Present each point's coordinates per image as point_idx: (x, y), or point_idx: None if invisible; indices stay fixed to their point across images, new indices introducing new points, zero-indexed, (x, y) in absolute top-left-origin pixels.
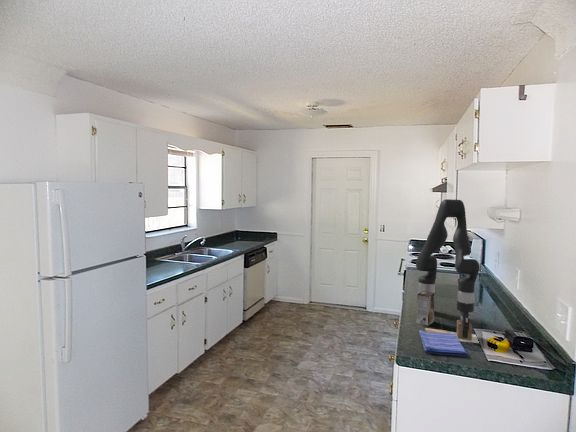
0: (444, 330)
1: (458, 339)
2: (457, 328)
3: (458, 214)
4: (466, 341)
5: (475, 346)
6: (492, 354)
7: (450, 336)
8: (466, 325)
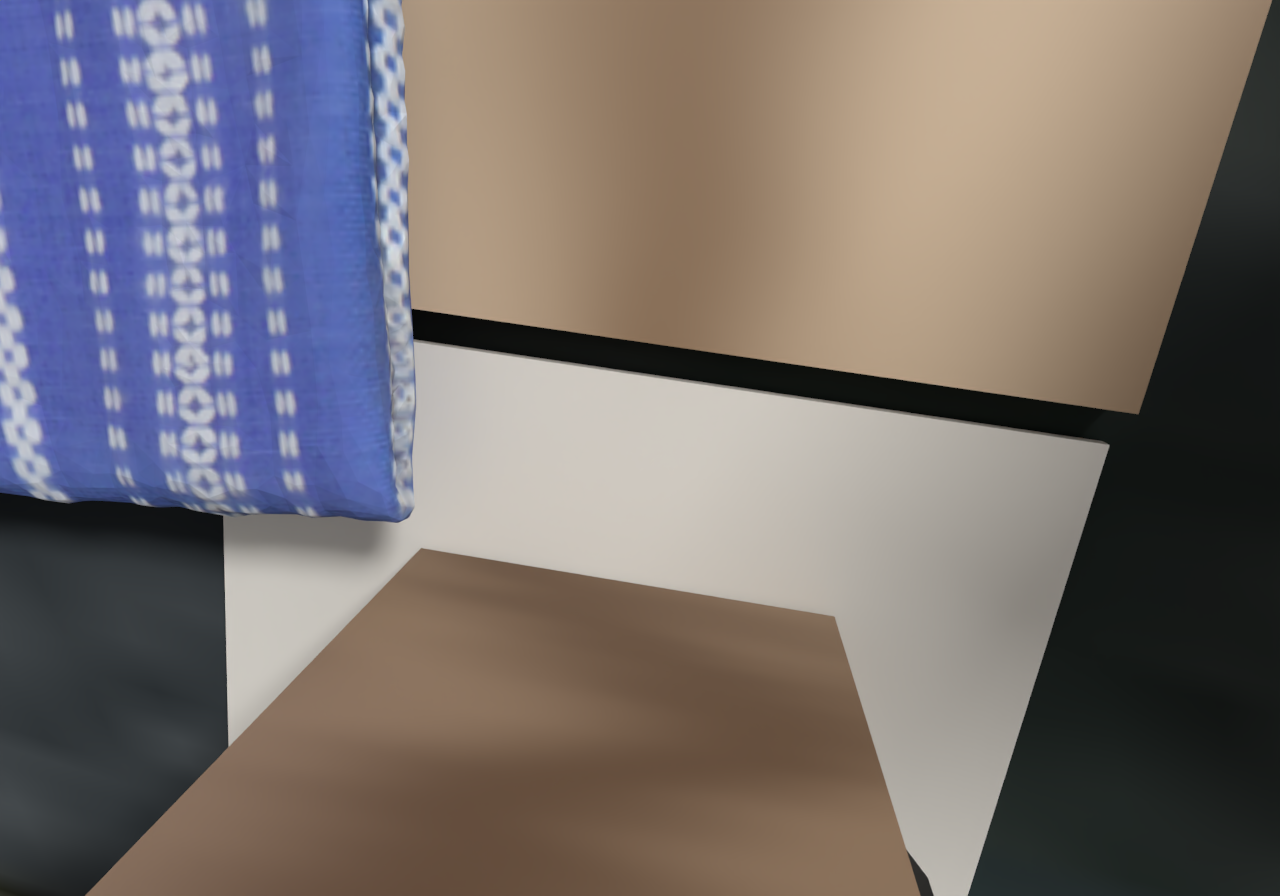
0: (1150, 261)
1: (327, 538)
2: (567, 753)
3: None
4: (234, 710)
5: (2, 808)
6: None
7: (92, 264)
8: None
